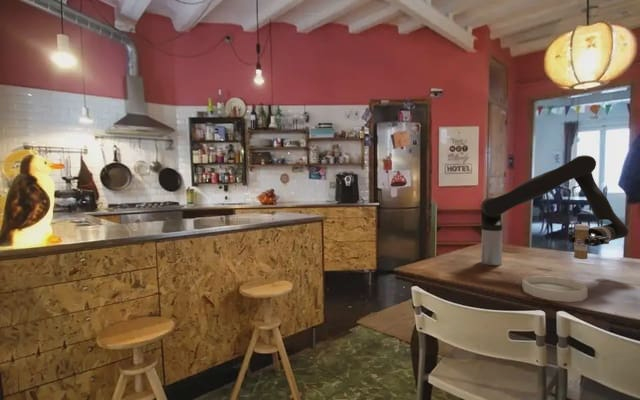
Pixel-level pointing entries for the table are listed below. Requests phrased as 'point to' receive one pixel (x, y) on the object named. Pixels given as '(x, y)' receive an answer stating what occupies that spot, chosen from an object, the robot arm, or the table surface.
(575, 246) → the sprinkles bottle
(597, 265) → the table surface
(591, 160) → the robot arm
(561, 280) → the bowl
